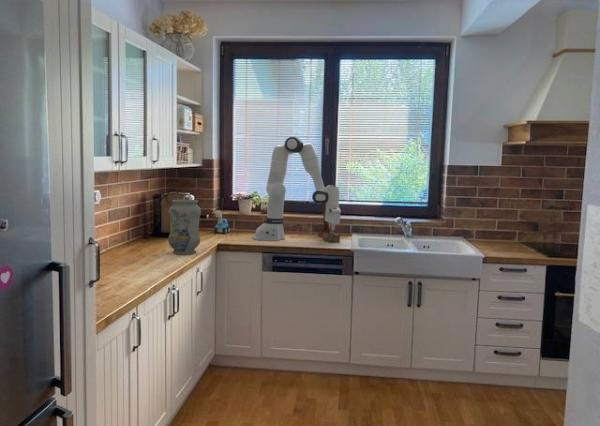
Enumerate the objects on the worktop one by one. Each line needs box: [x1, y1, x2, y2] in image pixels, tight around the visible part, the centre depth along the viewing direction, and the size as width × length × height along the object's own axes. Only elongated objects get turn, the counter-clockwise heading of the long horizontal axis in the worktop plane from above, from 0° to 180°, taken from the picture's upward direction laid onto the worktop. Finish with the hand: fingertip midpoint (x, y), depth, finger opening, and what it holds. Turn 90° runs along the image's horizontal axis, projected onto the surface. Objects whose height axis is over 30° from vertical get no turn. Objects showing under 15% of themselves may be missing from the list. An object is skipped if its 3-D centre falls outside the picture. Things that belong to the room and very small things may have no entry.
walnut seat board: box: [321, 232, 341, 243], centre depth 337 cm, size 9×10×5 cm
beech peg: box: [330, 223, 335, 234], centre depth 336 cm, size 3×3×10 cm
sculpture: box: [317, 203, 330, 238], centre depth 355 cm, size 13×9×30 cm
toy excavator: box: [214, 209, 231, 234], centre depth 356 cm, size 9×17×17 cm, turn 167°
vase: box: [167, 199, 202, 256], centre depth 279 cm, size 18×18×30 cm
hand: (331, 229), depth 337 cm, fingers closed on beech peg, 3 cm apart
